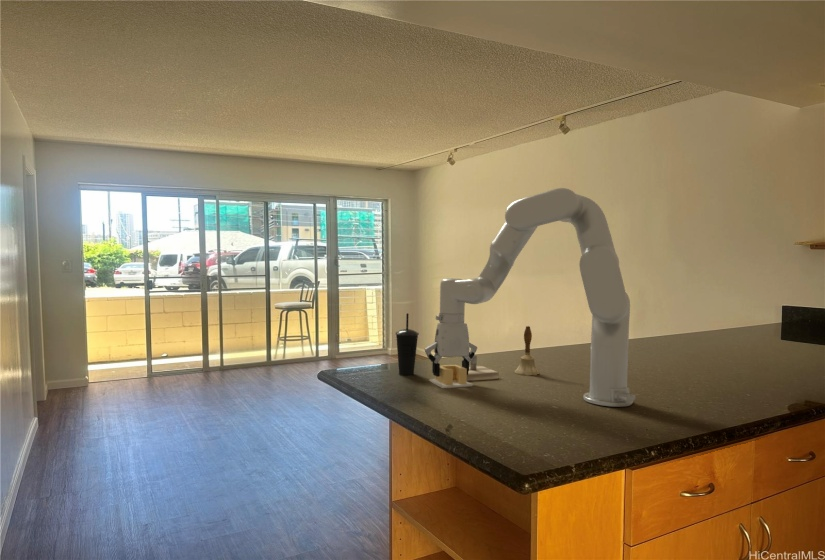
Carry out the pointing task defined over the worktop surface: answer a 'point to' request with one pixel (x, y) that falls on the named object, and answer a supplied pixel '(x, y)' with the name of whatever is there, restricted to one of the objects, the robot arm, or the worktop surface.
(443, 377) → the c link
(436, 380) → the pad
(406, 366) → the drinking cup
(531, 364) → the hand bell
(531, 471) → the worktop surface
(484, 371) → the stand
